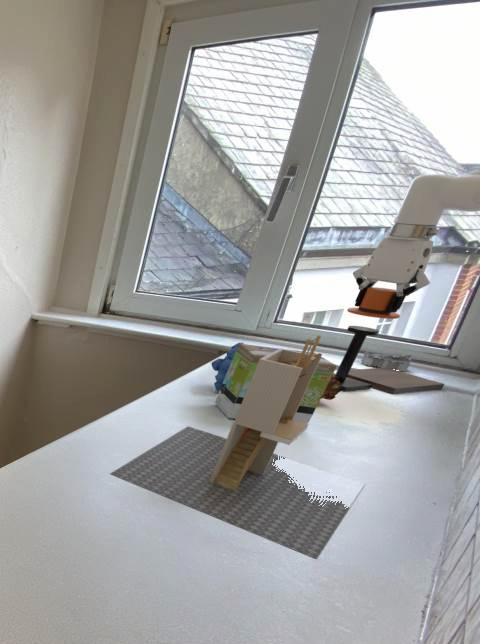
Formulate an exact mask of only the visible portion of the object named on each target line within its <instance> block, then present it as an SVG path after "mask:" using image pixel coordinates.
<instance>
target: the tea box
mask: <svg viewBox="0 0 480 644" xmlns="http://www.w3.org/2000/svg"><path fill="white" fill-rule="evenodd" d="M280 348H281V347H280ZM280 348H279V347H270V346H263V345H254V344H246V343H244V344H239V345H238V348H237V350H236V352H235V355H234V357H233V359H232V362H231V364H230V367H229V369H228V371H227V374H226V376H225V379H224V381H223V384H222V386H221V389H220V391H218V393H217V395H216V398H215V401H214V403H215V405H216V406H217V407H218V408H219V410H220V412H222V413H223V414H224V415H225V417H227V418H228V419H234V420H235V419H236V416H237V414H238V411H239V409H240V406H241V404H242V401H243V399H244V396H245V394H246V391H247V389H248V387H249V384H250V382H251V379H252V377H253V374H254V372H255V369H256V367H257V364H258V362H259V359H261V358H263V357H265V356H267V355H268V354H270V353H272V352H274V351H276V350H278V349H280ZM285 349H286V348H285ZM286 350H289V349H286ZM290 350H291V351H296V352H300V353H302V351H303V350H297V349H296V350H295V349H290ZM307 352H308V351H306V352H305V354H307ZM310 352H311V351H309V352H308V354H310ZM316 354H317V353H316V352H314V353H313V355H316ZM337 367H338V366H337V364H335V363H333V362H331V361H330V360H328V359H326V358H325V357H322V356H321V359H320V361H319V364H318V366H317V368H316V370H315V372H314V375H313V377H312V379H311V381H310V383H309V385H308V388H307V390H306V392H305V394H304V396H303V399H302V401H301V403H300V405H299V407H298V409H297V412H296V414H295V416H294V418H293V420H294V421H297V422H301V423H305V424H308V425H309V422H310V421H311V419H312V417H313V415H314V414H315V411H316V410H317V407H318V405H319V403H320V402H321V400H322V399H321V397H322V395H323V393H324V391H325V389H326V387H327V385H328V383H329V381H330V379H331V377H332V375H333V373H335V372H336V369H337Z"/></svg>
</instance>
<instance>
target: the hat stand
mask: <svg viewBox="0 0 480 644" xmlns="http://www.w3.org/2000/svg"><path fill="white" fill-rule="evenodd" d="M346 331H347V332H349V333H354V334H353V337H352V339H351V340H350V343H349V345H348V347H347V349H346V351H345V353H344V355H343V358H342V360H341V361H340V364H339V366H338V368H337V370H336V371H335V372H334V373H333V377H337V378H338V379H339V382H340V383H341V385H342V386H341V388H342V391H341V392H344V393H345V392H354V391H355V392H356V391H365V390H371V389H372V385H371V384H368V383H364V382H361V381H358V380H355V379H351V378H348V377H347V375H348V373H349V371H350V370H352V367H353V365H354V363H355V361H356V359H357V357H358V355H359V353H360V351H361V349H362V347H363V344H364V343H365V341H366V338H367V337H368V336H374V337H375V336H378V334H379V332H380V330H379V329H376V328H372V327H367V326H362V325H361V326H360V325H348V327H347V329H346Z"/></svg>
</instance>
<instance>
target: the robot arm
mask: <svg viewBox="0 0 480 644" xmlns="http://www.w3.org/2000/svg"><path fill="white" fill-rule="evenodd" d="M445 210H446V211H454V212H455V211H458V212H467V213H468V212H469V213H473V212H480V169H478V170H474V171H470V172H466V173H463V174H460V175H457V176H456V175H452V174H435V173H434V174H433V173H432V174H431V173H430V174H428V173H427V174H420V175H417V176H416V177H414V178H413V179H412V181H411V182H410V184H409V187H408V189H407V191H406V194H405V196H404V198H403V200H402V202H401V205H400V207H399V209H398V211H397V213H396V216H395V218H394V220H393V222H392V225H391V227H390V229H389V231H388V233H387V235H386V236H384V237H382V239H381V240H380V242H379V243H378V244H377V246H376V247H375V249H374V251H373V252H372V254H371V256H370V257H369V260H368V261H367V264H365V265H363V266H362V267H360V268H357V269H355V271H353V272H352V276H353V278H354V279H355V282H356V284H357V286H358V287H357V289H358V290H359V291H358V294H357V296H356V298H355V303H354V307H356V308H359V306H360V305H361V302H362V300H363V298H364V296H365V294H366V291H367V289H368V288H369V287H374V286H375V285H376V284H377V283H378V282H383V283H390V284H396V285H395V287H396V288H395V290H396V296H393V297H392V298H391V300H390V302H389V305H388V307H387V309H386V312H388V313H392V312H393V313H397V312H398V310H400V309H401V307H402V305H403V302H404V301H405V299H406V297H408V296H410V295H411V294H414V293H415V292H418V291H419V290H422V289H423V288H425V287H427V286H429V285H430V283H431V282H430V280H429V279H428V277H427V275H426V273H425V271H426V269H427V266H428V264H429V261H430V258H431V255H432V253H433V247H434V243H435V241H434V240H431V239H432V238H433V237H434V236H439V235H440V234H441V232H442V230H441V229H438V226H437V225H438V223H439V221H440V219H441V217H442V215H443V213H444V211H445ZM411 284H413V285H411Z"/></svg>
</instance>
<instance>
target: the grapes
mask: <svg viewBox="0 0 480 644" xmlns="http://www.w3.org/2000/svg"><path fill="white" fill-rule="evenodd" d="M239 344H245V343H244V342H238V343H235V344H234V345H232V346H231V347H230V349H229V350H227V351H226V352H225V353H226V356H224V358H217V359H215V360H214V361H211V363H210V364H211V367H212V370H214V371H215V372H217V373H216V374H215V375H214V379H215V382H214V383H213V384H214V388H215V389H216V391H217V392H219V391H220V389H221V386H222V384H223V381H224V379H225V376H226V374H227V371H228V369H229V367H230V364H231V362H232V359H233V357H234V355H235V352H236V350H237V348H238V345H239Z"/></svg>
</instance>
